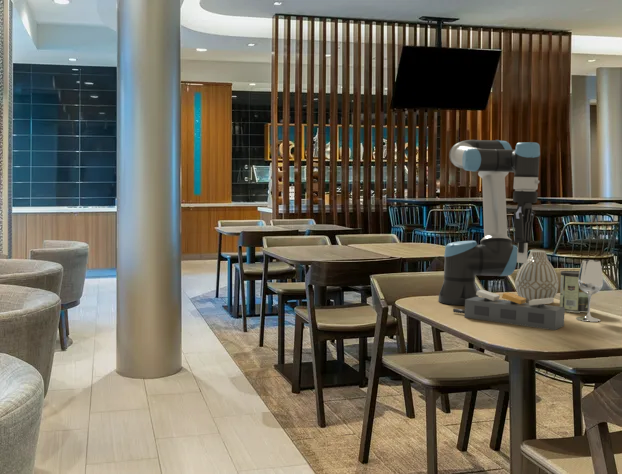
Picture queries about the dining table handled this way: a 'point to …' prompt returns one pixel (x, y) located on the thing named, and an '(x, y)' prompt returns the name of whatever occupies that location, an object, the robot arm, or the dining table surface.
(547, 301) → the block
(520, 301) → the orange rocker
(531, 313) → the power strip
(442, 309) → the dining table surface
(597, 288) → the wineglass
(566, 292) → the coffee can
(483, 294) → the block
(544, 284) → the vase
